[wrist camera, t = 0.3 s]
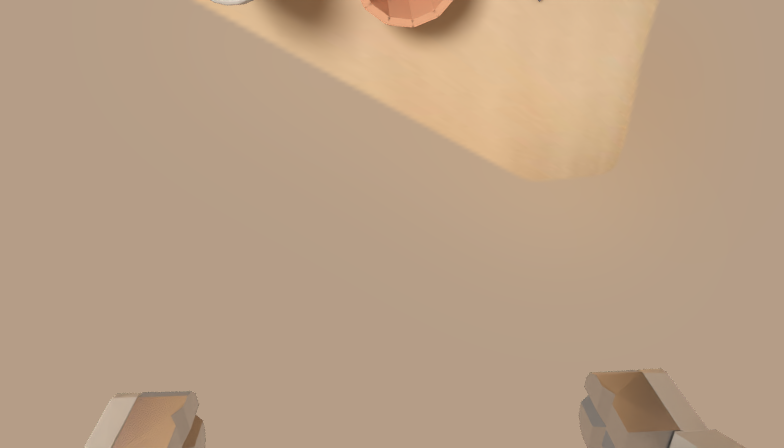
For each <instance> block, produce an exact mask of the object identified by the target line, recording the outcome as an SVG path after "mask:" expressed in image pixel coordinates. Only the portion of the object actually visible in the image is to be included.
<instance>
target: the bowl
mask: <svg viewBox="0 0 784 448" xmlns="http://www.w3.org/2000/svg"><path fill="white" fill-rule="evenodd" d="M452 1H453V0H361V2H362V4H363V6H364V8H365V9H366V10H367V11H368V12H370V13H371V14H372V15H374V16H375V17H377V18H378V19H379V20H381V21H382V22H383V23H385V24H386V23H387V25H394V26H403V27H412V26H414V27H416V26H418V25H421V24H423V23H426V22H428V21H431V20H433V19H436V18H438V16H440V15H441V14H442V13H443V12H444V10H445V9H446V8H447V7H448V6H449V5H450V3H451V2H452ZM437 15H438V16H437Z"/></svg>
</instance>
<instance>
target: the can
mask: <svg viewBox="0 0 784 448" xmlns="http://www.w3.org/2000/svg"><path fill="white" fill-rule="evenodd" d="M211 1H213V2H215V3H219V4H223V5H241V4H246V3H248V2H250V1H253V0H211Z"/></svg>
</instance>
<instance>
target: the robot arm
mask: <svg viewBox="0 0 784 448" xmlns="http://www.w3.org/2000/svg"><path fill="white" fill-rule="evenodd" d="M584 387H585V389H586V390H587V393H588V396H587V397H586V398H585V399H584V400H583V401H582V402H581V405H580V411H579V420H580V429H581V432H582V436H583V439H584V441H585V443H586V446H587V448H745V447H744V446H742V445H741V444H739V443H737V442H736V441H734V440H732V439H731V438H729V437H727V436H726V435H724V434H723V433H721V432H719V431H717V430H709V429H708V428H707V427H706V425H705V424H704V422H703V421H702V420H701V418H700V417H699V416H698V414H697V413H696V412H695V410H694V409H693V407H692V406H691V405H690V403H689V402H688V401H687V399H686V398H685V397H684V395H683V394H682V392H681V391H680V390H679V388H678V387H677V386H676V384H675V383H674V381H673V380H672V379H671V378H670V376H669V375H668V373H667V372H666V371H664V370H663V369H661V368H660V369H643V370H626V371H608V372H591V373H589V375H588V376H587V378H586V382H585V386H584ZM198 406H199V403H198V400H197V396H196V393H194V392H192V391H187V392H144V393H122V394H121V393H118V394H116V395H115V396H114V397H113V398H112V399H111V400H110V402H109V403H108V405H107V407H106V409H105V411H104V412H103V414H102V416H101V418H100V420H99V421H98V423H97V425H96V427H95V429H94V430H93V432H92V434H91V436H90V438H89V440H88V441H87V443H86V445H85V447H84V448H205V442H206V438H205V427H204V423H203V420H202V419H200V418H199V417H198V416H197V415H196V412H197V409H198Z"/></svg>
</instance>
